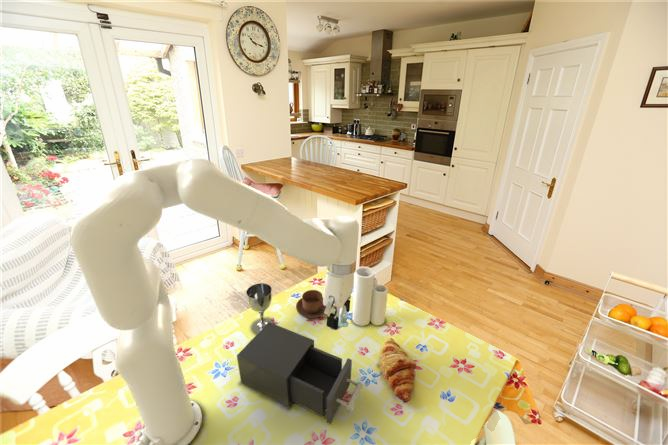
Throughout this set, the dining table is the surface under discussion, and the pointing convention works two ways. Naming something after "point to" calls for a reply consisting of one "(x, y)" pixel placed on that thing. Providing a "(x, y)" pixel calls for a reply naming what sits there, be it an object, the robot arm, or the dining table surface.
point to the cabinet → (272, 361)
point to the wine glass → (259, 303)
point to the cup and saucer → (311, 304)
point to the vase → (368, 298)
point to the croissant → (397, 369)
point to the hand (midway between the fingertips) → (338, 318)
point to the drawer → (322, 383)
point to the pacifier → (342, 317)
